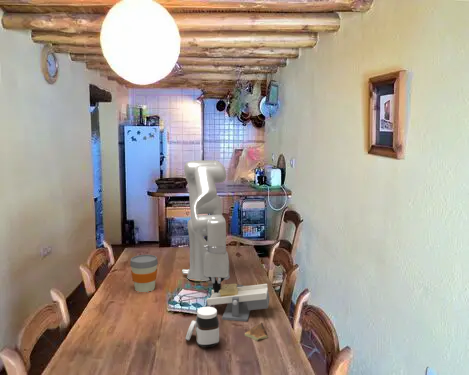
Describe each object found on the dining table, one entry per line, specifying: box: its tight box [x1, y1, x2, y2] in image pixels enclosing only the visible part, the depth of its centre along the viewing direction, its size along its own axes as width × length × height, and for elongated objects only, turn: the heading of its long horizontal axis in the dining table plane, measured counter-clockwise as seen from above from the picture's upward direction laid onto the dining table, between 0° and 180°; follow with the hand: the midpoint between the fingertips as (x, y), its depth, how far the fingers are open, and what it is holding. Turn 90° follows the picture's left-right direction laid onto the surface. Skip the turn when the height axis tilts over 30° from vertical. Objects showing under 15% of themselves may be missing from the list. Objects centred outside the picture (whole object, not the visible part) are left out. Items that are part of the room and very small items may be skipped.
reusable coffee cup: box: [130, 254, 158, 293], centre depth 185 cm, size 13×13×15 cm
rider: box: [220, 283, 238, 297], centre depth 162 cm, size 6×6×4 cm
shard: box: [244, 322, 269, 342], centre depth 145 cm, size 11×8×2 cm
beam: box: [206, 283, 270, 311], centre depth 162 cm, size 24×10×6 cm, turn 81°
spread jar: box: [185, 306, 220, 348], centre depth 138 cm, size 12×11×12 cm
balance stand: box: [221, 284, 251, 322], centre depth 162 cm, size 10×17×8 cm, turn 171°
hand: (216, 291), depth 163 cm, fingers closed
